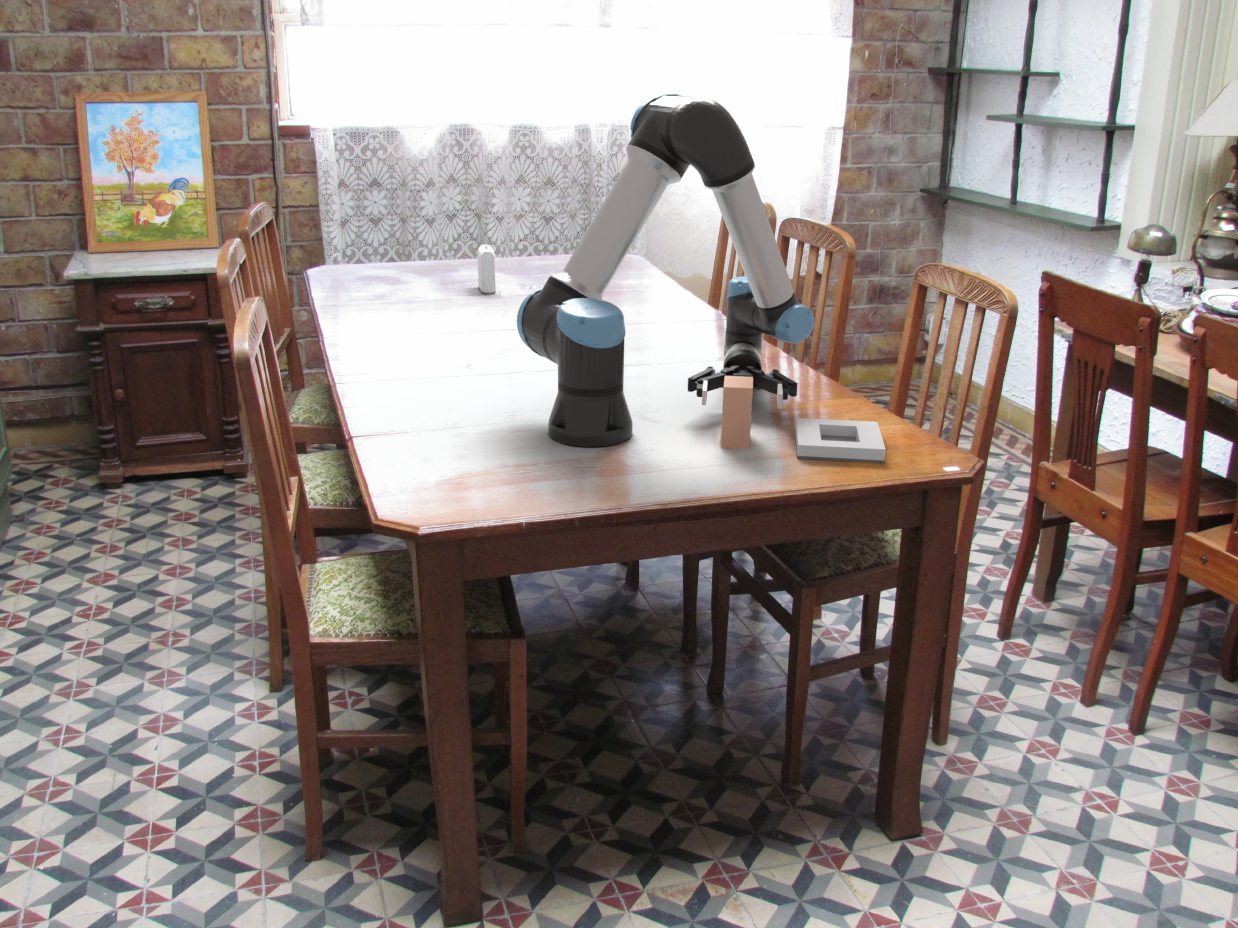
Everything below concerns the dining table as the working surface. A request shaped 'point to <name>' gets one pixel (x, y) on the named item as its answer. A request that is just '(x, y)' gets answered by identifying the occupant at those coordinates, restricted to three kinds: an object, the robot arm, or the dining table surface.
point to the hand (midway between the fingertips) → (742, 399)
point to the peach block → (736, 412)
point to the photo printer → (486, 269)
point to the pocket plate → (839, 440)
